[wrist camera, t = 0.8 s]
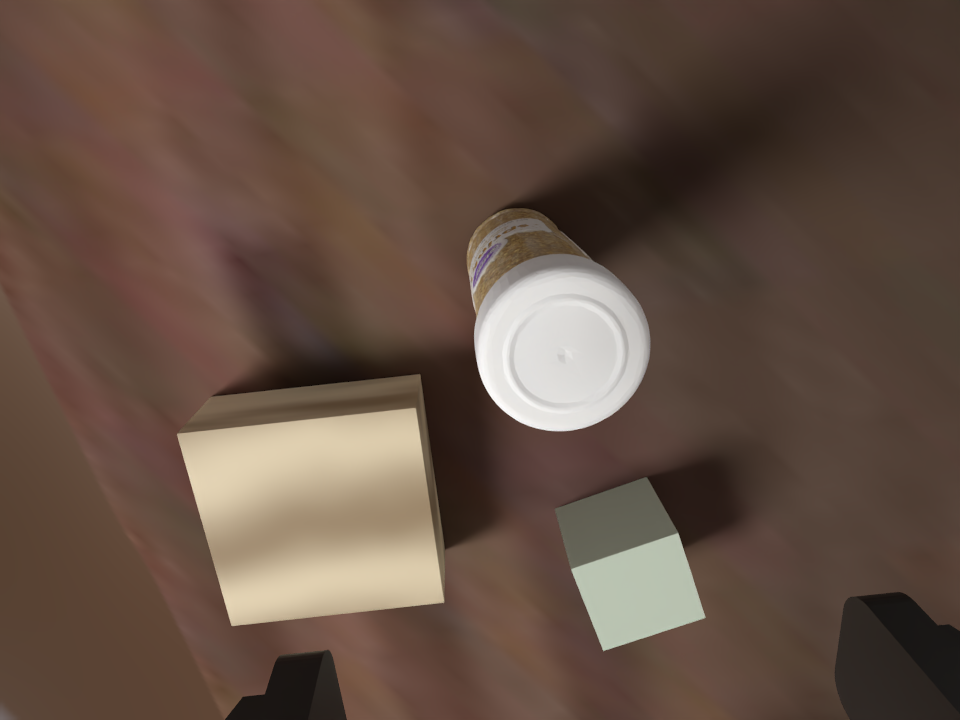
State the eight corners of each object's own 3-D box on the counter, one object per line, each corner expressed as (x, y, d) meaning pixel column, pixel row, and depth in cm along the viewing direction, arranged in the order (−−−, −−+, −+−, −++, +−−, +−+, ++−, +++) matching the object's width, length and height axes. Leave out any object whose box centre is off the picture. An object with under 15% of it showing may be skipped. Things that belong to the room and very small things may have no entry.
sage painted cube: (554, 507, 34) (571, 569, 29) (646, 476, 33) (678, 532, 28) (583, 581, 35) (603, 650, 30) (671, 552, 35) (705, 617, 30)
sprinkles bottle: (481, 194, 28) (506, 244, 15) (580, 223, 29) (682, 294, 16) (453, 293, 29) (455, 414, 17) (548, 319, 30) (619, 454, 17)
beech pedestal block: (210, 396, 31) (176, 433, 27) (420, 374, 31) (415, 407, 27) (256, 571, 34) (231, 626, 30) (445, 550, 34) (444, 602, 30)
